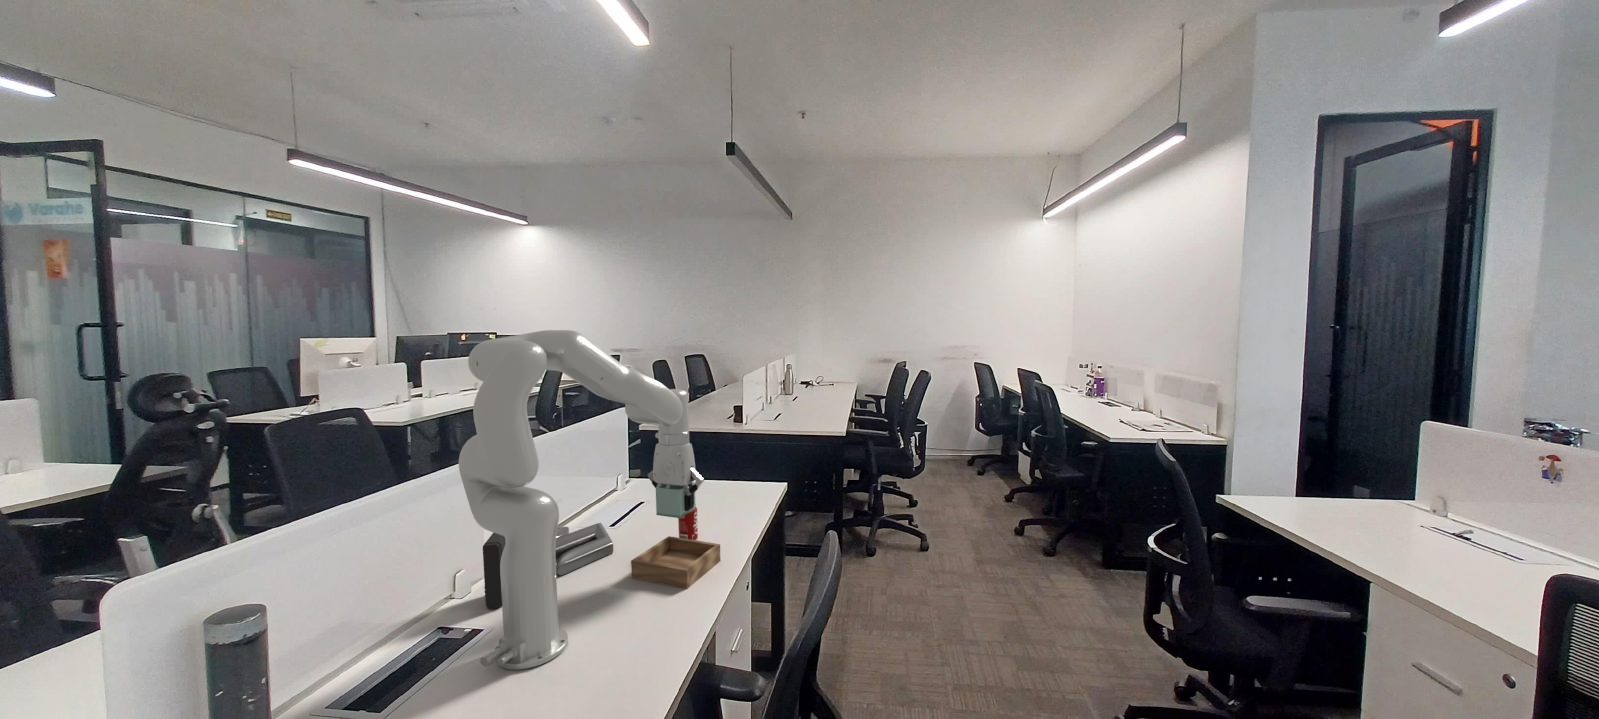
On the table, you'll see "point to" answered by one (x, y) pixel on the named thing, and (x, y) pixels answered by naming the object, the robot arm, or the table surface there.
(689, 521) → the soda can
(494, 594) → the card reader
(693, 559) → the walnut crate
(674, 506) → the small crate
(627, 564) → the table surface
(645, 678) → the table surface
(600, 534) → the emblem
